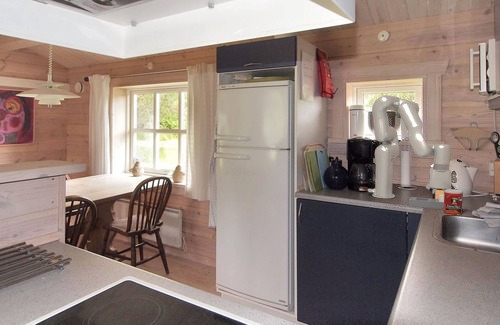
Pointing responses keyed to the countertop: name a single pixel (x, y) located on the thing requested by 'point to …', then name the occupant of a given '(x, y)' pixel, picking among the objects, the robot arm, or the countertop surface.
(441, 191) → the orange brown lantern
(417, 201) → the power strip
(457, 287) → the countertop surface
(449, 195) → the canned food
